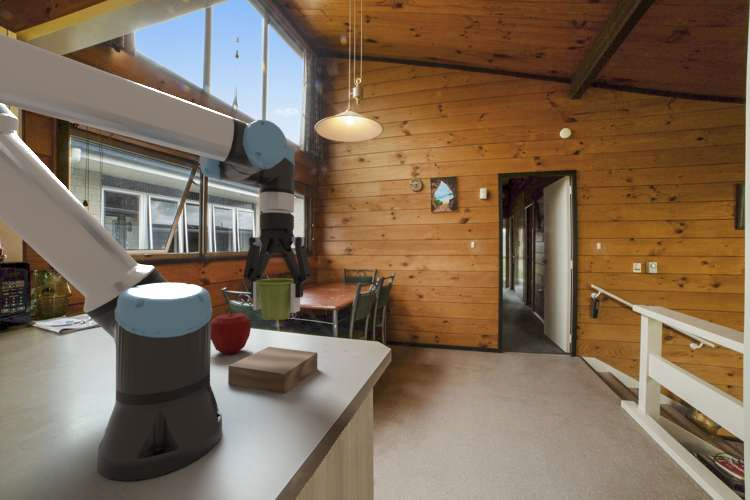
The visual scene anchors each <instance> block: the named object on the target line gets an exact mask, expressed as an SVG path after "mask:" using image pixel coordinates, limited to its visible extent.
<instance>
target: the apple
mask: <svg viewBox="0 0 750 500" xmlns="http://www.w3.org/2000/svg"><path fill="white" fill-rule="evenodd" d="M251 329H252V323H251V320H250V318H249V316H248V315H246V314H245V313H243V312H235V313H233V312H232V311H230V313H226V314H221V315H220V314H219V315H218V316H216V317H214V318H213V319H211V343H212V345H213V346H214V349H215V351H216V352H219V353H222V354H223V355H234V354H238V353H239V352H241V350H243V349H244V348H245V346H246V344H247V342H248V340H249V338H250V335H251Z"/></svg>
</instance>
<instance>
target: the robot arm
mask: <svg viewBox="0 0 750 500" xmlns="http://www.w3.org/2000/svg"><path fill="white" fill-rule="evenodd" d="M7 106H9V107H12V108H17V109H20V110H23V111H27V112H28V111H29V112H33V113H36V114H40V115H44V116H47V117H50V118H55V119H59V120H61V121H62V120H63V121H66V122H71V123H74V124H78V125H82V126H85V127H90V128H93V129H97V130H101V131H104V132H107V133H111V134H116V135H119V136H124V137H129V138H131V139H134V140H135V139H136V140H139V141H143V142H147V143H151V144H154V145H158V146H162V147H165V148H169V149H173V150H178V151H181V152H185V153H189V154H193V155H197V156H199V166H200V171H201V174H202V175H204V176H205V177H207V178H211V179H214V180H215V179H216V180H218V181H228V182H236V183H243V184H251V185H254V186H255V185H257V186H259V189H260V192H259V210H260V212H262V213H260V214H259V229H260V230H261V234H260V236H257V237H255V236H250V237H249V238H248V243H249V244H248V245H249V248H248V253H247V256H246V262H245V266H244V270H243V275H242V276H243V278H244V279H247V280H249V281H250V294H251V296H252V310H253V311H257V310H261V304H260V296H259V290H258V288H257V283H255V281H256V280H263V278H262V277H263V275H264V272H265V270H266V269H267V265H268V264H269V262H270V260H271V257H273V255H274V254H280V256H281V257H282V258H283V260H284V262H285V264H286V267H287V269H288V271H289V273H290V275H291V279H293V280H294V282H293V283H292V284H291V312H290V314H296V313H298V312H300V311H301V298H303V296H304V283H305V282H308V281H311V280H312V273H311V268H310V265H309V264H310V263H309V260H308V254H307V250H306V243H307V242H306V241H307V238H306V237H304V236H295V235H294V229H295V216H294V215H293V213H294V212H295V169H296V161H295V153H294V150H293V148H292V147H291V146H289V145H288V142H287V138H286V136H285V134H284V132H283V131H282V129H281V128H280V127H279V126H278V125H277V124H276V123H274V122H272V121H270V120H267V119H258V120H255V121H250V122H245V121H244V120H240V119H237V118H234V117H232V116H229V115H226V114H223V113H221V112H218V111H216V110H212V109H210V108H207V107H204V106H202V105H198V104H196V103H193V102H190V101H188V100H185V99H182V98H179V97H176V96H174V95H171V94H168V93H165V92H162V91H160V90H157V89H155V88H152V87H148V86H146V85H144V84H141V83H138V82H135V81H132V80H130V79H128V78H127V79H126V78H123V77H121V76H118V75H116V74H113V73H110V72H108V71H105V70H103V69H99V68H97V67H94V66H91V65H88V64H85V63H83V62H79V61H77V60H75V59H71V58H69V57H66V56H63V55H61V54H57V53H55V52H52V51H50V50H47V49H44V48H41V47H40V46H39V47H38V46H35V45H33V44H31V43H28V42H25V41H22V40H20V39H17V38H14V37H12V36H8V35H5V34H3V33H1V32H0V220H1V221H2V222H3V223H4V224H5V225H6V226H7V227H8V228H10V229H11V230H12V231H13V232H14V233H15V234H16V235H17V236H18V237H19V238H21V239H22V241H24V242H25V243H26V245H28V246H29V247H30V248H31V249H32V250H34V252H36V253H37V254H38V255H39V256H40V257H41V258H42V259H43V260H44V261H45V262H47V264H49V265H50V266H51V267H52V268H53V269H54V270H55V271H56V272H57V273H59V274H60V276H61V277H63V278H64V279H65V280H66V281H67V282H68V283H70V284H71V285H72V286H73V287H74V288H75V289H76V290H77V291H79V293H80V294H81V295H82V296H84V305H83V309H82V310H83V312H84V313H86V315H87V316H88V317H89V318H91V319H92V320H93V321H94V322H95V323H96V324H97V325H98V326H100V327H101V328H102V329H103V330H104V331H105V332H106V333H107V334H109V336H111V338H112V339H113V341H114V343H115V402H114V403H115V404H114V407H113V410H112V412H111V414H110V417H109V419H108V422H107V425H106V428H105V430H104V434H103V437H102V439H101V441H100V442H99V445H98V449H97V469H98V472H99V473H100V474H101V475H102V476H103V477H105V478H108V479H112V480H116V481H137V480H145V479H150V478H154V477H158V476H162V475H165V474H169V473H171V472H175V471H176V470H179V469H182V468H183V467H185V466H188V465H189V464H191V463H194V462H195V461H196V460H198V459H200V458H201V457H203V456H204V455H206V454H207V453H208V452H209V451H211V449H213V448H214V447H215V446H216V445H217V444H218V442H219V440H220V439H221V437H222V433H223V418H222V417H223V416H222V412H221V411H220V409H219V407H218V403H217V402H218V401H217V399H216V397H215V394H214V391H213V388H212V385H211V354H212V353H211V350H212V349H211V347H212V346H211V343H212V340H211V321H212V315H213V307H212V301H211V300H212V299H211V295H210V293H209V291H208V290H207V289H206V288H205V287H202V286H200V285H197V284H193V283H192V284H191V283H190V284H188V283H184V282H169V281H168V280H167V279H166V277H164V276H163V275H162V274H161V272H159V270H158V269H157V268H156V267H155V266H154V265H149V264H148V265H147V264H140V263H138V262H137V261H136V260H135V259H134V258H133V257H132V256H131V255H130V253H128V251H126V249H125V248H124V247H123V246H122V245H121V244H120V243H119V242H118V241H117V239H115V238H114V237H113V236H112V235H111V234H110V232H108V230H107V229H106V228H105V227H104V226H103V225H102V223H100V221H98V220H97V219H96V217H95V216H94V215H93V214H91V212H90V210H88V209H87V208H86V207H85V206H84V205H83V204H82V203H81V202H80V201H79V199H77V198H76V196H75V195H74V194H73V193H72V192H71V191H70V190H69V189H68V188H67V187H66V185H64V184H63V183H62V182H61V181H60V180H59V179H58V178H57V176H56V175H55V174H54V173H53V172H52V171H51V170H50V169H49V168H48V167H47V165H45V163H43V161H41V159H40V158H39V157H38V156H37V155H36V154H35V153H34V152H33V151H32V150H31V148H30V147H28V145H26V143H25V142H24V141H23V140H22V139H21V138H20V137H19V136H18V129H19V126H20V125H19V124H20V120H19V119H18V118H17V116H16V115H15V114H14V113H13V112H12V111H11V110H10V109H9V108H8V107H7ZM292 245H293V246H294V251H295V253H294V251H293V247H292ZM261 246H262V247H261ZM295 256H296V257H295Z"/></svg>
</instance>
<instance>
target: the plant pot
mask: <svg viewBox="0 0 750 500" xmlns="http://www.w3.org/2000/svg"><path fill="white" fill-rule="evenodd" d="M293 282H294V280H293V278H266V279H265V278H264V279H263V278H262V280H256V281H255V283H257V288H258V290H259V296H260V304H261V309H260V310H261V311H260V313H261V317H262V320H265V321H270V320H273V321H283V320H287V319H289V318H290V316H291V284H292V283H293Z"/></svg>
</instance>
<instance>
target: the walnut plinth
mask: <svg viewBox="0 0 750 500" xmlns="http://www.w3.org/2000/svg"><path fill="white" fill-rule="evenodd" d="M227 367H228V369H227V370H228V373H227V374H228V378H227V380H228V381H227V384H228V385H233V386H237V387H238V386H239V387H244V388H250V389H255V390H261V391H268V392H273V393H279V394H286V393H287V392H288V391H290V390H291V389H292V388H294V387H295V386H296V385H298V384H299V383H300V382H302V381H303V380H304V379H306V378H307V377H309V376H310V375H311V374H312V373H314V372H315V371H317V370H318V352H315V351H309V350H307V351H306V350H298V349H290V348H282V347H274V346H273V347H272V346H268V347H266V348H263V349H261V350H259V351H257V352H255V353H253V354H249V355H247V356H246V357H244V358H242V359H240V360H237V361H236V362H233V363H231V364H229V365H228V366H227ZM316 369H317V370H316Z"/></svg>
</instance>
